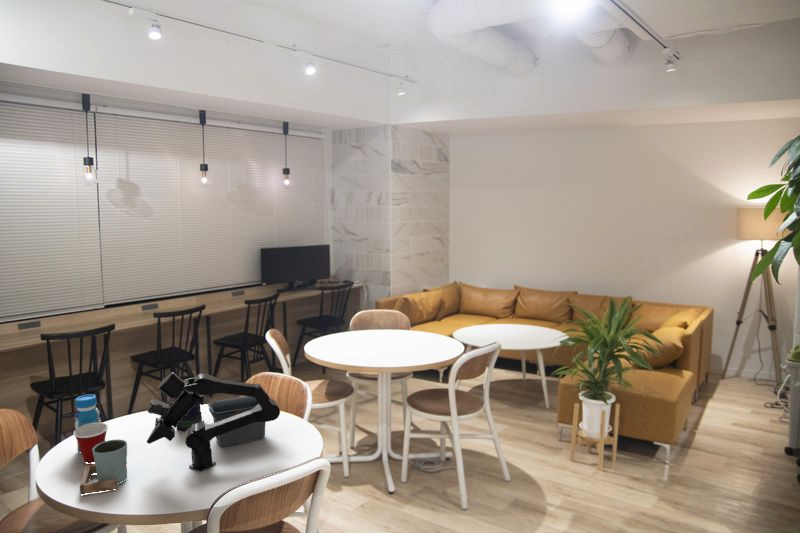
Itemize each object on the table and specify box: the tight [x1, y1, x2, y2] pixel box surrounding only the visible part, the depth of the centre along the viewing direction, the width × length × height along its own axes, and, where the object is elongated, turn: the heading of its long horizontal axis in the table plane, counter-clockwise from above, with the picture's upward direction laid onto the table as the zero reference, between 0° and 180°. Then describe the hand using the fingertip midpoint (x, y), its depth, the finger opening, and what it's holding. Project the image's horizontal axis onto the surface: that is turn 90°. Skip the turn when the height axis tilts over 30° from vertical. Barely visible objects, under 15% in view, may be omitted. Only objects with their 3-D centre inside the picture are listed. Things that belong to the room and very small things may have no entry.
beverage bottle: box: [74, 394, 102, 453], centre depth 216 cm, size 8×8×20 cm
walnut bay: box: [79, 464, 118, 494], centre depth 192 cm, size 10×15×4 cm
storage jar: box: [173, 391, 203, 433], centre depth 236 cm, size 10×10×15 cm
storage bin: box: [207, 396, 267, 447], centre depth 223 cm, size 21×16×14 cm
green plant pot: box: [92, 439, 128, 484], centre depth 193 cm, size 10×10×12 cm
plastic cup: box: [72, 422, 109, 463], centre depth 208 cm, size 11×11×12 cm
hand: (147, 442), depth 196 cm, fingers closed
